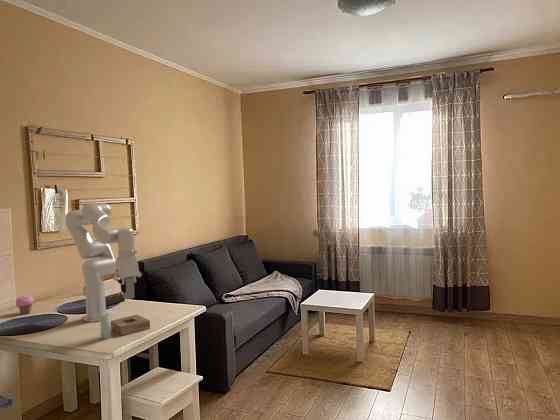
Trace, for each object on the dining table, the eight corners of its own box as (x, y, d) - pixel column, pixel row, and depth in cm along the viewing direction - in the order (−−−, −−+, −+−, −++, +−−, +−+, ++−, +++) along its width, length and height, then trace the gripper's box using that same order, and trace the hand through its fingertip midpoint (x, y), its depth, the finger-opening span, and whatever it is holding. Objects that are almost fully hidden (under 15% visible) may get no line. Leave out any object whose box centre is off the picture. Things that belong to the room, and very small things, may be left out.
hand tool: (120, 300, 259) (119, 291, 259) (125, 301, 257) (125, 292, 257) (88, 310, 239) (87, 301, 239) (93, 311, 237) (93, 302, 237)
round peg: (99, 337, 193) (98, 316, 193) (109, 335, 196) (108, 314, 196) (103, 340, 190) (102, 318, 190) (113, 337, 193) (112, 316, 193)
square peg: (126, 299, 201) (125, 278, 201) (123, 298, 204) (122, 277, 204) (134, 297, 204) (133, 277, 204) (131, 296, 207) (130, 276, 207)
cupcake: (33, 314, 234) (32, 296, 234) (15, 316, 231) (14, 298, 230) (35, 310, 242) (34, 292, 242) (17, 312, 239) (16, 294, 238)
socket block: (109, 329, 205) (109, 321, 205) (137, 322, 215) (136, 314, 215) (121, 335, 195) (121, 327, 195) (150, 328, 205) (149, 320, 205)
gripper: (139, 251, 212) (141, 287, 213) (106, 255, 200) (108, 293, 201) (146, 252, 206) (148, 289, 207) (112, 257, 195) (114, 296, 196)
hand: (128, 291), depth 204 cm, fingers closed on square peg, 4 cm apart
